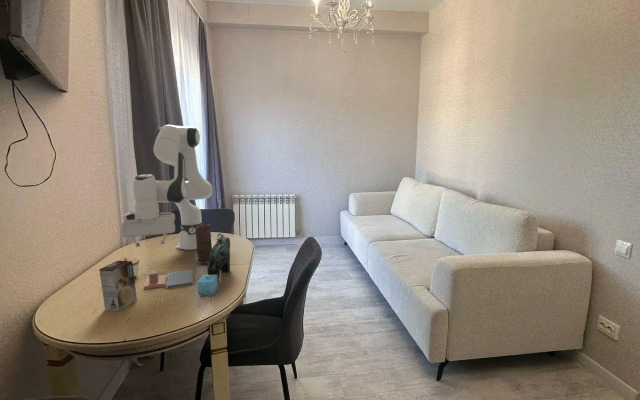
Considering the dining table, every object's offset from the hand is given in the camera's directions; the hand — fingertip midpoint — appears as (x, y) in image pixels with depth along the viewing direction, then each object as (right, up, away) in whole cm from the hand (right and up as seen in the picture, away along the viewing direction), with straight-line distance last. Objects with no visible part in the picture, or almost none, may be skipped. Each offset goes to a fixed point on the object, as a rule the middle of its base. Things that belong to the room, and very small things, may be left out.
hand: (150, 245), depth 141 cm
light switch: (+1, -17, +3) cm, 17 cm away
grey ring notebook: (+10, -16, +7) cm, 20 cm away
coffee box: (-3, -21, -16) cm, 26 cm away
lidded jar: (-16, -16, +10) cm, 25 cm away
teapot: (+27, -19, -7) cm, 34 cm away
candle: (+14, -13, +28) cm, 34 cm away
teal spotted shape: (+28, -16, +9) cm, 33 cm away
